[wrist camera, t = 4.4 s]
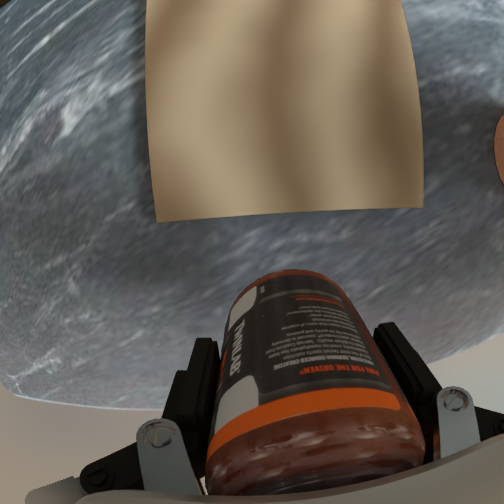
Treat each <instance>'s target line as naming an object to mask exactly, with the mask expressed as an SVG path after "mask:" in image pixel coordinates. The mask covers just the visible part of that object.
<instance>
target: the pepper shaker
mask: <svg viewBox="0 0 504 504" xmlns="http://www.w3.org/2000/svg"><path fill="white" fill-rule="evenodd" d="M494 153H495V159H496V166H497V169H498V172H499V175H500V179H501V180H502V182H503V184H504V115H503V116H501V118H500V120H499V122H498V124H497V127H496V132H495V137H494Z"/></svg>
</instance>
